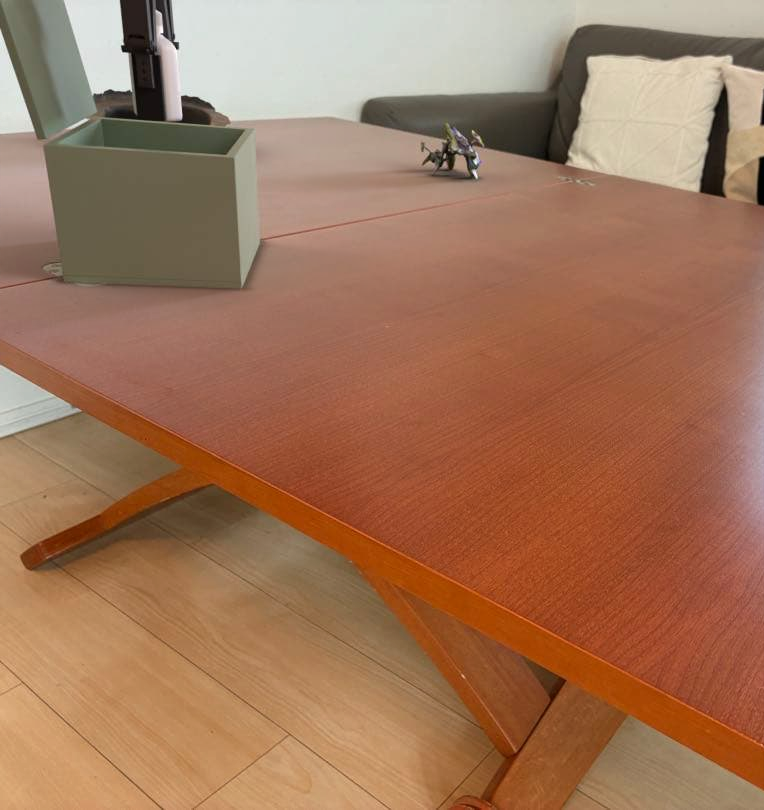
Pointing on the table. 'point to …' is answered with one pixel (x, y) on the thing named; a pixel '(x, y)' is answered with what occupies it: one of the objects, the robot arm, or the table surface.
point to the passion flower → (455, 151)
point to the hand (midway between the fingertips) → (157, 115)
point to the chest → (155, 203)
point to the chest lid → (46, 64)
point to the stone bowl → (192, 113)
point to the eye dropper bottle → (165, 75)
